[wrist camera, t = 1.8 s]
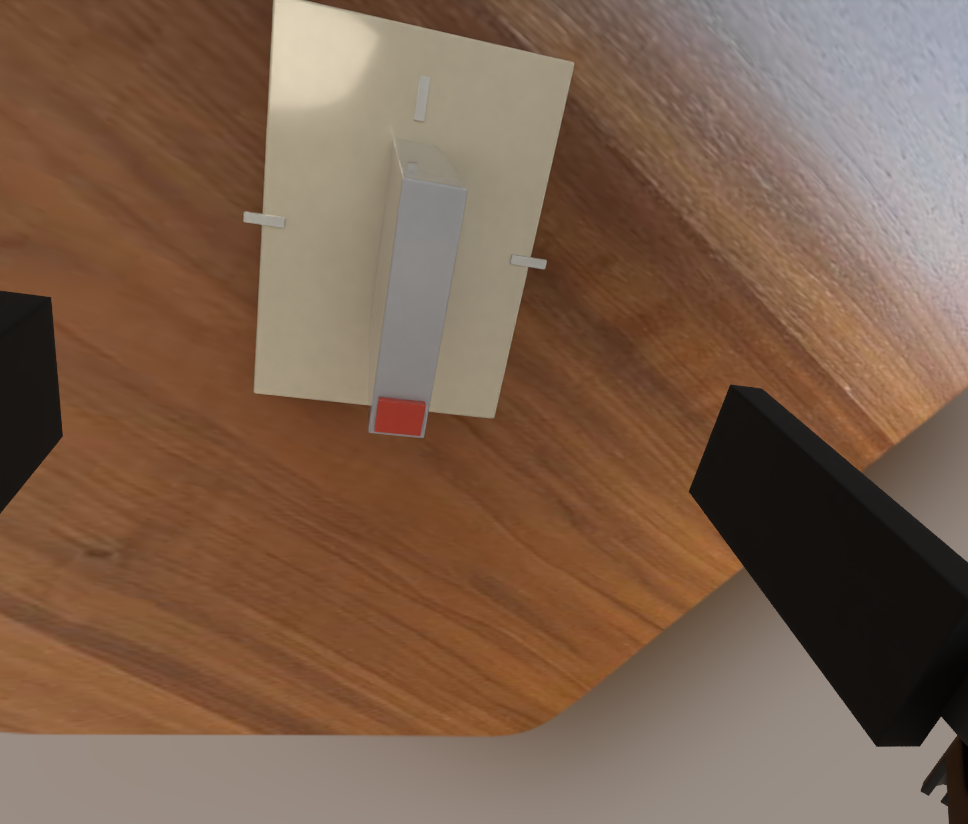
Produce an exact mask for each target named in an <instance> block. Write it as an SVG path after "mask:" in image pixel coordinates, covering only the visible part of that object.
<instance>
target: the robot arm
mask: <svg viewBox="0 0 968 824" xmlns="http://www.w3.org/2000/svg"><path fill="white" fill-rule="evenodd" d="M62 437H63V433H62V421H61V409H60V398H59V386H58V374H57V362H56V350H55V339H54V327H53V315H52V303H51V297H45V296H37V295H29V294H21V293H14V292H6V291H0V513H1V512H2V511H3V509H4V508H5V507H6V506H7V505H8V503H9V502H10V501H11V500H12V498H13V497H14V496H15V495H16V493H17V492H18V491H19V490H20V488H21V487H22V486H23V485H24V484H25V482H26V481H27V480H28V479H29V477H30V476H31V475H32V474H33V472H34V471H35V470H36V469H37V467H38V466H39V465H40V464H41V463H42V461H43V460H44V459H45V458H46V456H47V455H48V454H49V453H50V451H51V450H52V449H53V448H54V446H55V445H56V444H57V443H58V442H59V440H60V439H61V438H62ZM689 492H690V494H691V495H692V497H693V498H694V499H695V501H696V502H697V503H698V505H699V506H700V507H701V509H702V510H703V511H704V513H705V514H706V516H707V517H708V518H709V520H710V521H711V522H712V524H713V525H714V526H715V528H716V529H717V530H718V532H719V533H720V535H721V536H722V537H723V539H724V540H725V541H726V543H727V544H728V545H729V547H730V548H731V550H732V551H733V552H734V554H735V555H736V556H737V558H738V559H739V560H740V562H741V563H742V564H743V566H744V567H745V569H746V570H747V571H748V573H749V574H750V575H751V577H752V578H753V579H754V581H755V582H756V583H757V585H758V586H759V588H760V589H761V590H762V592H763V593H764V594H765V596H766V597H767V598H768V600H769V601H770V602H771V604H772V605H773V607H774V608H775V609H776V611H777V612H778V613H779V615H780V616H781V617H782V619H783V620H784V621H785V623H786V624H787V626H788V627H789V628H790V630H791V631H792V632H793V634H794V635H795V636H796V638H797V639H798V641H799V642H800V643H801V645H802V646H803V647H804V649H805V650H806V651H807V653H808V654H809V655H810V657H811V658H812V660H813V661H814V662H815V664H816V665H817V666H818V668H819V669H820V670H821V672H822V673H823V674H824V676H825V677H826V679H827V680H828V681H829V683H830V684H831V685H832V687H833V688H834V689H835V691H836V692H837V694H838V695H839V696H840V698H841V699H842V700H843V701H844V703H845V704H846V706H847V707H848V708H849V710H850V711H851V712H852V714H853V715H854V717H855V718H856V719H857V721H858V722H859V723H860V725H861V726H862V728H863V729H864V730H865V732H866V733H867V734H868V736H869V737H870V738H871V740H872V741H873V742H874V744H875V745H876V746H877V747H884V746H885V747H887V746H889V747H891V746H921V744H922V743H923V741H924V740H925V738H926V737H927V736H928V734H929V733H930V731H931V730H932V728H933V727H934V726H935V724H936V723H937V721H938V720H939V718H940V717H942V718H943V719H944V720H945V721H946V722H947V724H949V726H950V727H951V728H952V729H953V730H954V731H955V733H956V734H957V737H956V738H955V739H954V741H953V742H952V743H951V745H950V746H949V748H948V749H947V750H946V752H945V753H944V754H943V756H942V757H941V759H940V760H939V761H938V763H937V764H936V765H935V767H934V768H933V770H932V771H931V773H930V774H929V775H928V776H927V778H926V779H925V781H924V782H923V786H922V788H921V792H923V793H925V794H926V795H928V796H929V795H930V793H931V792H932V791H933V789H934V788H935V787H936V786H938V785H942V784H944V785H947V793H946V795H945V796H944V797H943V799H942V800H941V803H943V804H945V805H946V806H948V815H949V824H968V562H967V561H965V560H964V559H963V558H962V557H961V556H959V555H958V554H957V553H956V552H955V551H954V550H952V549H951V548H950V547H949V546H948V545H946V544H945V543H944V542H943V541H942V540H941V539H939V538H938V537H937V536H936V535H934V534H933V533H932V532H931V531H930V530H929V529H928V528H926V527H925V526H924V525H923V524H922V523H920V522H919V521H918V520H917V519H916V518H914V517H913V516H912V515H911V514H910V513H909V512H907V511H906V510H905V509H904V508H903V507H901V506H900V505H899V504H898V503H897V502H896V501H894V500H893V499H892V498H891V497H890V496H888V495H887V494H886V493H885V492H884V491H882V490H881V489H880V488H879V487H878V486H876V485H875V484H874V483H873V482H872V481H871V480H869V479H868V478H867V477H866V476H865V475H864V474H862V473H861V472H860V471H859V470H858V469H856V468H855V467H854V466H853V465H852V464H850V463H849V462H848V461H847V460H846V459H845V458H843V457H842V456H841V455H840V454H839V453H837V452H836V451H835V450H834V449H833V448H832V447H830V446H829V445H828V444H827V443H826V442H824V441H823V440H822V439H821V438H820V437H819V436H817V435H816V434H815V433H814V432H813V431H811V430H810V429H809V428H808V427H807V426H805V425H804V424H803V423H802V422H801V421H800V420H798V419H797V418H796V417H795V416H794V415H792V414H791V413H790V412H789V411H788V410H787V409H785V408H784V407H783V406H782V405H781V404H779V403H778V402H777V401H776V400H775V399H773V398H772V397H771V396H770V395H769V394H768V393H766V392H765V391H764V390H763V389H761V388H753V387H745V386H737V385H730V387H729V389H728V392H727V395H726V397H725V400H724V402H723V405H722V407H721V410H720V413H719V415H718V418H717V420H716V423H715V425H714V428H713V431H712V433H711V436H710V438H709V441H708V444H707V446H706V449H705V451H704V454H703V456H702V459H701V462H700V464H699V467H698V469H697V472H696V475H695V477H694V480H693V482H692V485H691V487H690V490H689Z"/></svg>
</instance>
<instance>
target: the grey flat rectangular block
mask: <svg viewBox="0 0 968 824" xmlns="http://www.w3.org/2000/svg"><path fill="white" fill-rule="evenodd" d="M467 194H468V189H467V188H466V186H465V185H464V184H463V182H462V181H461V179H460V178H459V176H458V175H457V174H456V172H455V171H454V169H453V168H452V166H451V165H450V163H449V162H448V161H447V159H446V158H445V156H444V155H443V153H442V152H441V151H440V149H439V148H438V147H437V146H433V145H427V144H422V143H417V142H412V141H407V140H401V139H396V138H394V139H393V142H392V150H391V158H390V166H389V174H388V182H387V189H386V197H385V205H384V213H383V221H382V229H381V237H380V245H379V253H378V260H377V268H376V276H375V284H374V292H373V300H372V308H371V316H370V324H369V394H368V432H369V433H376V434H386V435H397V436H407V437H417V438H423V437H424V435H425V430H426V424H427V418H428V413H429V407H430V401H431V396H432V390H433V385H434V379H435V373H436V368H437V362H438V356H439V351H440V345H441V340H442V334H443V328H444V323H445V317H446V312H447V306H448V300H449V295H450V289H451V283H452V278H453V272H454V267H455V261H456V255H457V250H458V244H459V239H460V233H461V227H462V222H463V216H464V210H465V205H466V199H467Z"/></svg>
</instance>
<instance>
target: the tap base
mask: <svg viewBox="0 0 968 824" xmlns="http://www.w3.org/2000/svg"><path fill="white" fill-rule="evenodd" d="M573 69H574V62H572V61H567V60H563V59H559V58H554V57H550V56H546V55H541V54H537V53H532V52H528V51H524V50H519V49H515V48H511V47H506V46H502V45H498V44H493V43H489V42H485V41H480V40H476V39H472V38H467V37H463V36H459V35H454V34H450V33H446V32H441V31H437V30H433V29H428V28H424V27H419V26H415V25H411V24H406V23H402V22H398V21H393V20H389V19H385V18H380V17H376V16H372V15H367V14H363V13H359V12H354V11H350V10H346V9H341V8H337V7H333V6H328V5H324V4H320V3H315V2H311V1H306V0H273V10H272V30H271V50H270V70H269V90H268V110H267V131H266V151H265V171H264V191H263V211H262V214H261V213H255V212H249V211H244V216H243V222H248V223H254V224H260V225H262V231H261V251H260V272H259V292H258V312H257V332H256V352H255V372H254V393H257V394H266V395H276V396H285V397H294V398H304V399H313V400H323V401H332V402H341V403H351V404H360V405H368V394H369V324H370V316H371V308H372V300H373V292H374V284H375V276H376V268H377V260H378V253H379V245H380V237H381V229H382V221H383V213H384V205H385V197H386V189H387V182H388V174H389V166H390V158H391V150H392V142H393V139H394V138H396V139H401V140H407V141H412V142H417V143H422V144H427V145H433V146H437V147H438V148H439V149H440V151H441V152H442V153H443V155H444V156H445V158H446V159H447V161H448V162H449V163H450V165H451V166H452V168H453V169H454V171H455V172H456V174H457V175H458V176H459V178H460V179H461V181H462V182H463V184H464V185H465V186H466V188H467V189H468V194H467V199H466V205H465V210H464V216H463V222H462V227H461V233H460V239H459V244H458V250H457V255H456V261H455V267H454V272H453V278H452V283H451V289H450V295H449V300H448V306H447V312H446V317H445V323H444V328H443V334H442V340H441V345H440V351H439V356H438V362H437V368H436V373H435V379H434V385H433V390H432V396H431V401H430V407H429V412H435V413H445V414H454V415H463V416H473V417H482V418H492V419H493V418H494V417H495V413H496V409H497V404H498V400H499V395H500V391H501V387H502V382H503V378H504V373H505V369H506V364H507V360H508V356H509V351H510V347H511V342H512V338H513V334H514V329H515V325H516V320H517V316H518V312H519V307H520V303H521V298H522V294H523V290H524V285H525V281H526V276H527V272H528V268H529V267H532V268H538V269H545V267H546V263H547V260H545V259H539V258H533V257H531V254H532V250H533V246H534V241H535V237H536V232H537V228H538V223H539V219H540V215H541V210H542V206H543V201H544V197H545V193H546V188H547V184H548V179H549V175H550V171H551V166H552V162H553V157H554V153H555V149H556V144H557V140H558V135H559V131H560V127H561V122H562V118H563V113H564V109H565V105H566V100H567V96H568V91H569V87H570V83H571V78H572V74H573Z"/></svg>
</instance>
